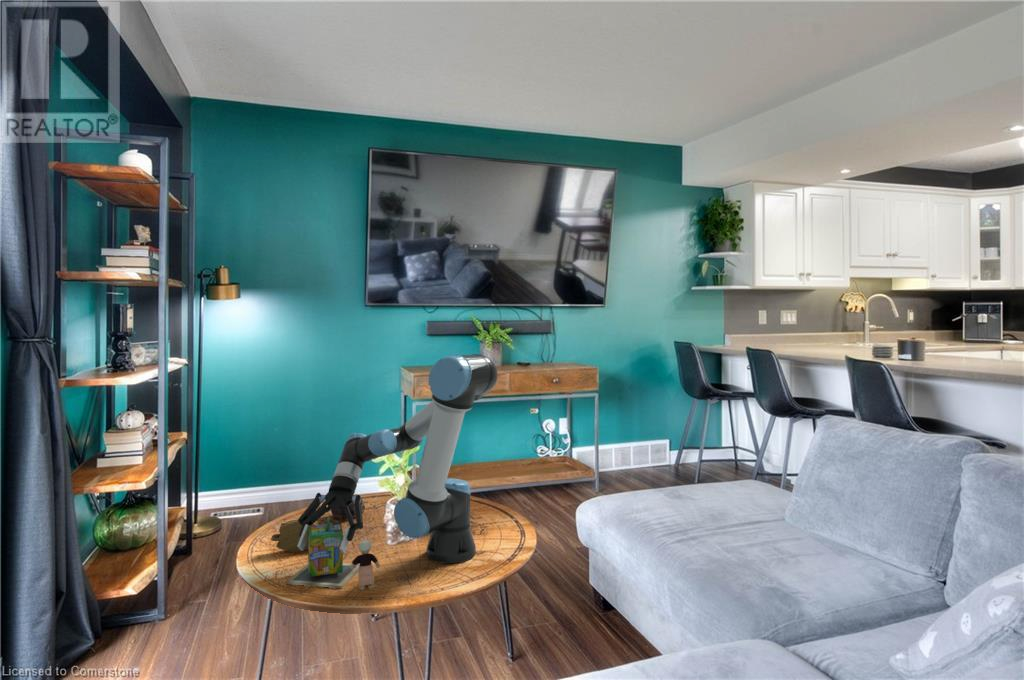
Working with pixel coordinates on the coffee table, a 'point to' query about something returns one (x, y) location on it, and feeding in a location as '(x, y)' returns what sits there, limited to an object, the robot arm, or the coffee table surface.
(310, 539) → the chalk box
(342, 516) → the rock
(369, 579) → the grandmother figurine
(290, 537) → the wooden carving
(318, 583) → the chalkboard
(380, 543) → the coffee table surface
